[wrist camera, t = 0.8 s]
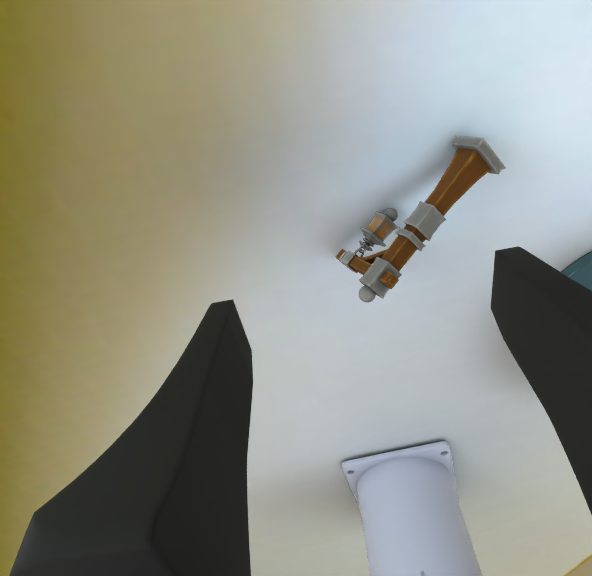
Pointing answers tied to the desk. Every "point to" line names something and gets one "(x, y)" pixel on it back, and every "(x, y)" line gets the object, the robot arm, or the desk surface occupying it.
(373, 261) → the wooden post with brackets
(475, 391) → the desk surface
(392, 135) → the desk surface
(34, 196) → the desk surface
